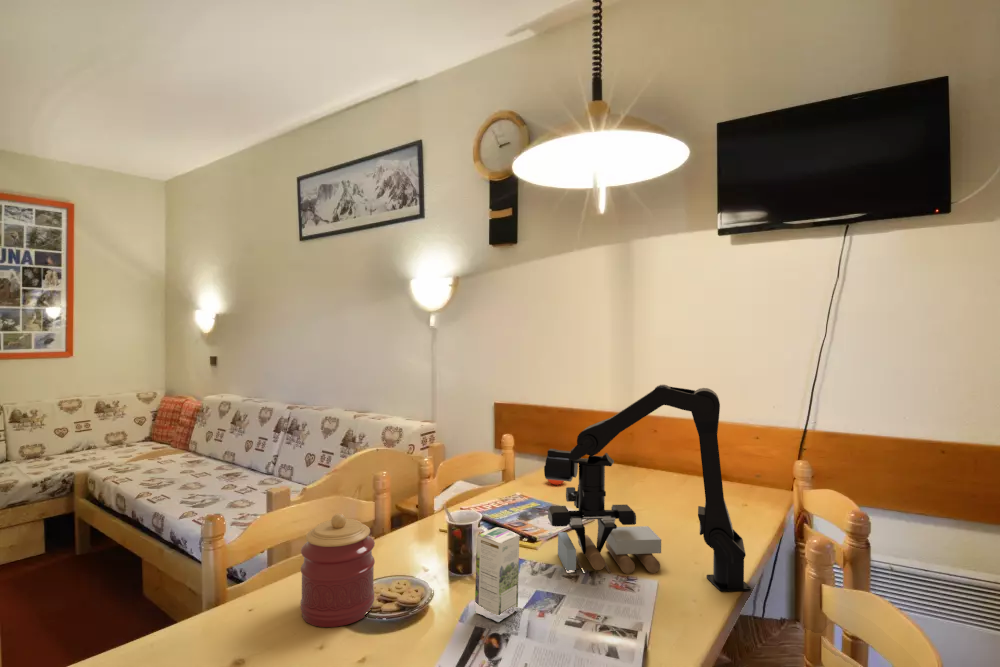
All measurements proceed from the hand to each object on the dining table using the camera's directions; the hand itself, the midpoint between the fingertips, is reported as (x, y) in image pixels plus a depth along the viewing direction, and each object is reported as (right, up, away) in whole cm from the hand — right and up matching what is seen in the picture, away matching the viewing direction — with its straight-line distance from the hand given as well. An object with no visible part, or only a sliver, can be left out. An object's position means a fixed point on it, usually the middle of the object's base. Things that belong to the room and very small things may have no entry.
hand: (591, 553), depth 120 cm
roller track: (+5, -2, 0) cm, 6 cm away
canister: (-50, -2, -21) cm, 54 cm away
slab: (+9, +1, +1) cm, 10 cm away
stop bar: (-5, -2, 0) cm, 6 cm away
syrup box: (-21, -2, -22) cm, 30 cm away
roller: (0, -1, 0) cm, 1 cm away
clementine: (-2, -2, +62) cm, 62 cm away
